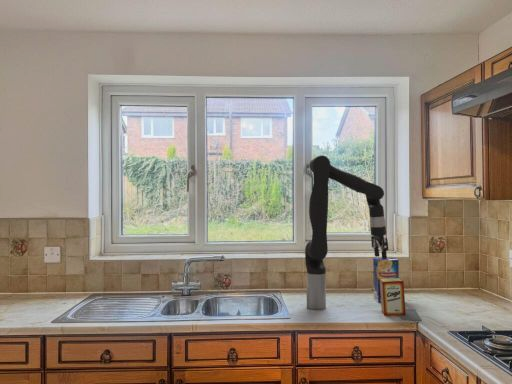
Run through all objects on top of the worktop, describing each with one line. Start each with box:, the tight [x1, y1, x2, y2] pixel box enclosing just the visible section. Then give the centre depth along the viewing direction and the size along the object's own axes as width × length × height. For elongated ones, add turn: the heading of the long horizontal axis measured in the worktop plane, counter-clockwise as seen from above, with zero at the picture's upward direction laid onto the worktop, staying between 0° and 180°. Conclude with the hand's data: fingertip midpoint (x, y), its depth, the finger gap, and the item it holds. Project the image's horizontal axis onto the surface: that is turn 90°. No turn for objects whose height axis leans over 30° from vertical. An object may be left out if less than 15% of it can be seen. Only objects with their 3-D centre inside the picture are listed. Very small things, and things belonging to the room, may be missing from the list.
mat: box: [399, 307, 423, 322], centre depth 191 cm, size 8×18×1 cm, turn 168°
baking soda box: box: [380, 278, 406, 316], centre depth 192 cm, size 10×6×16 cm
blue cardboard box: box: [372, 257, 400, 304], centre depth 215 cm, size 7×11×22 cm, turn 94°
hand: (380, 257), depth 206 cm, fingers open, 8 cm apart
